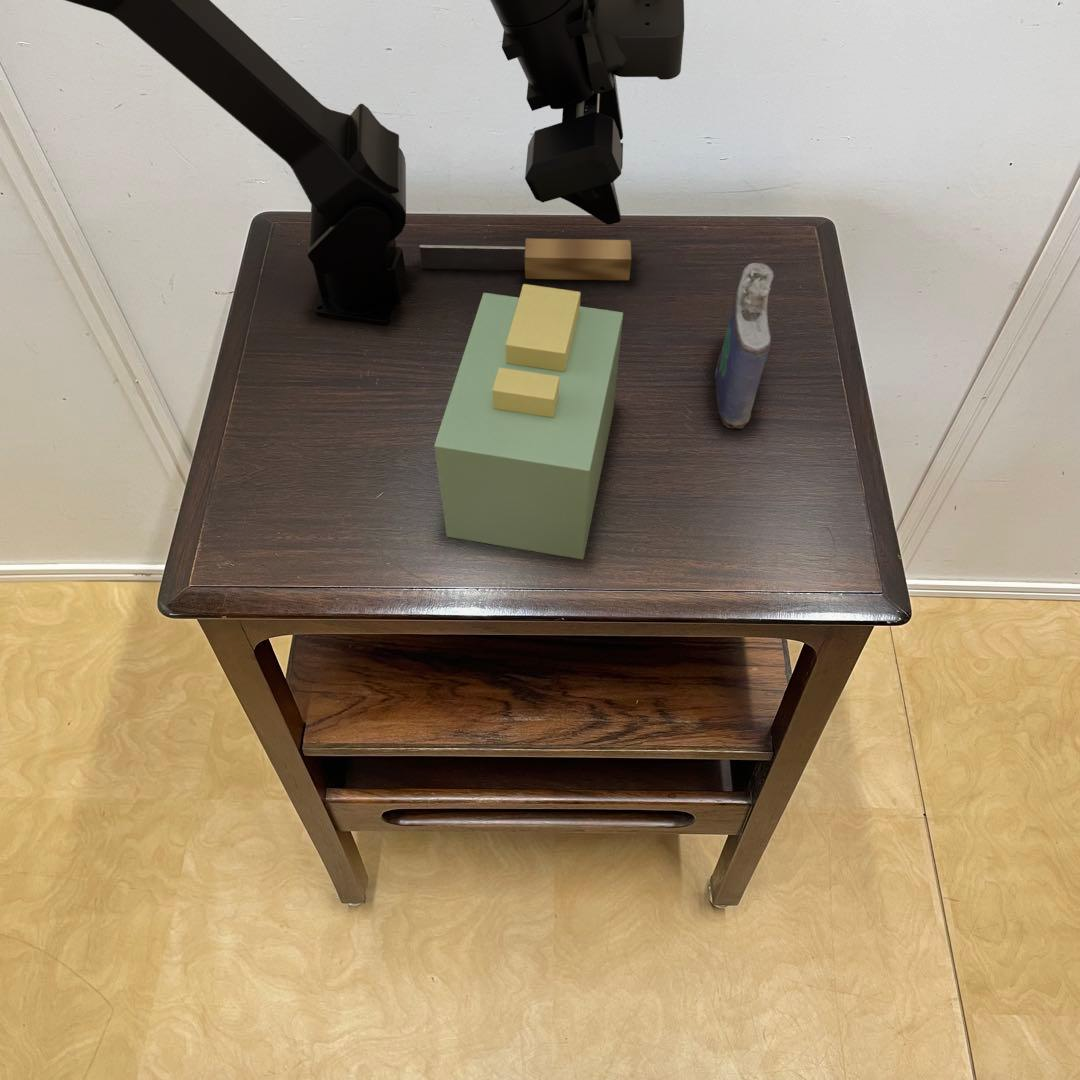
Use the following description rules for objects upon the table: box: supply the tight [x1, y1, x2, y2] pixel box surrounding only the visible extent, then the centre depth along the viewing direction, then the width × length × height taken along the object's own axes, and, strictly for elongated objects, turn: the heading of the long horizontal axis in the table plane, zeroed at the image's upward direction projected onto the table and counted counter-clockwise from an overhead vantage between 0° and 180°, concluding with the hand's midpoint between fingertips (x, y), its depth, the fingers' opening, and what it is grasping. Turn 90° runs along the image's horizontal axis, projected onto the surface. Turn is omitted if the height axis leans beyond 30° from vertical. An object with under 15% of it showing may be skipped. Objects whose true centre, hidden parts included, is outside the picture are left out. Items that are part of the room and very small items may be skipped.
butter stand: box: [433, 292, 624, 560], centre depth 70 cm, size 10×14×11 cm
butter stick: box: [506, 283, 582, 372], centre depth 67 cm, size 4×6×2 cm
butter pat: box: [492, 368, 560, 418], centre depth 64 cm, size 4×2×2 cm, turn 79°
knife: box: [419, 237, 632, 281], centre depth 86 cm, size 18×2×2 cm, turn 89°
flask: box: [714, 262, 775, 429], centre depth 75 cm, size 9×3×11 cm, turn 172°
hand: (615, 179), depth 77 cm, fingers open, 9 cm apart
